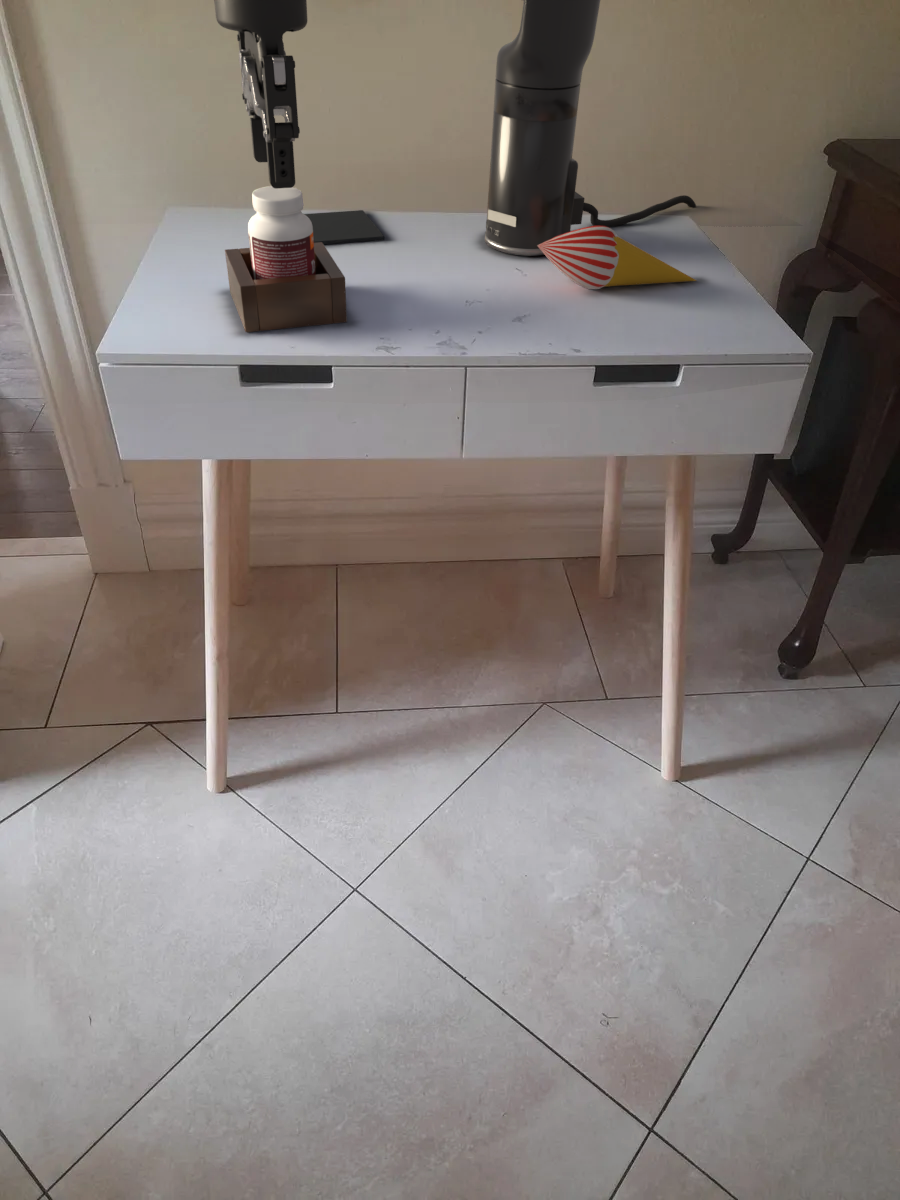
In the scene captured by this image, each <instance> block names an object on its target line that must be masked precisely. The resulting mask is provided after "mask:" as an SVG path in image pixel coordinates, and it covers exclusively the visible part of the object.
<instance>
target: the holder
mask: <svg viewBox="0 0 900 1200" xmlns="http://www.w3.org/2000/svg"><path fill="white" fill-rule="evenodd" d="M224 255H225V263H226V270H227V279H228V285H229V293H230V296H231V299H232V301H233V304H234V306H235V309H236V311H237V314H238V316H239V319H240V322H241V324H242V327H243V330H244V331H245V333H254V332H264V331H273V330H282V329H293V328H303V327H312V326H321V325H333V324H340V323H341V324H342V323H347V322H348V316H347V315H348V314H347V313H348V311H347V291H346V288H347V287H346V277H345V275H344V274H343V272H342V270H341V269H340V267H339V266H338V265H337V263H336V261H335V259H334V258H333V256H332V255H331V253H330V251H328V249H327V247H326V246H325V244H323V243H322V242H317V243H314V256H315V272H316V275H305V276H294V277H282V278H271V279H259V280H253V272H252V262H251V253H250V247H243V248H242V247H241V248H229V249H224Z"/></svg>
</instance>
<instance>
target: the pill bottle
mask: <svg viewBox="0 0 900 1200" xmlns="http://www.w3.org/2000/svg"><path fill="white" fill-rule="evenodd" d="M251 196H252V197H251V199H252V207H253V210H254V211H255V212H256V213H254V214H253V215H252V216H251V217H250V219H249V221H248V223H247V234H248V235H247V236H248V243H249V248H250V253H251V262H252V272H253V280H259V279H271V278H282V277H294V276H305V275H316V272H315V256H314V240H313V226H312V222H311V221H310V219H309V218H308V217H307V216H306V215H305V214H306V213H303V212H302V211H303V209H304V206H305V204H304V196H303V192H302V190H301V189H299V188H297V187H294V186H293V187H292V188H277V189H276V188H273V187H272V186H271V185H268V186H262V187H259V188H256V189H254V190H253V191H252V193H251Z"/></svg>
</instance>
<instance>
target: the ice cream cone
mask: <svg viewBox="0 0 900 1200" xmlns="http://www.w3.org/2000/svg"><path fill="white" fill-rule="evenodd" d="M537 246H538V247H539V248H540V249H541V251H542V252H543V253H544V254H545V257H546V258H547V259H548V261H549V262H551V264H552V265H554V266H555V267H556V269H557V270H559V271H560V272H561V273H562V274H563V275H564V276H565V277H566V278H568V279H569V280H571V282H573V283H574V284H576V285H578V286H579V287H582V288H584V289H588V290H600V289H602V288H605V287H619V286H620V287H621V286H636V285H650V284H651V285H652V284H653V285H654V284H666V283H667V284H668V283H682V282H684V283H685V282H697V279H695V278H693V277H692V276H689V275H688V274H686V273H684V272H682V271H680V270H679V269H677V268H676V267H673V266H671V265H670V264H668V263H666V262H664V261H663V260H661V259H659V258H657V257H655V256H654V255H652V254H650V253H649V252H647V251H645V250H643V249H641V248H640V247H638V246H636V245H634V244H633V243H631V242H629V241H628V240H625V239H623V238H622V237H620V236H618V235H617V233H616V232H615V231H614V229H613V228H612V227H606V226H600V225H597V226H593V225H590V226H585V227H580V228H578V229H574V230H570V232H567V233H564V234H562V235H559V236H556V237H554V238H552V239H550V240H548V241H545V242H543V243H541V244H539V245H537Z"/></svg>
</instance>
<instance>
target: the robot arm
mask: <svg viewBox="0 0 900 1200" xmlns="http://www.w3.org/2000/svg"><path fill="white" fill-rule="evenodd" d="M213 1H214V4H213V5H214V12H215V20H216V22H217V23H218V25H219V26H221V27H222V28H224V29H226V30H229V31H234V32H237V34H236V39H237V42H238V62H239V68H240V74H241V89H242V94H241V98H242V100H243V102H244V105H245V111H246V112H247V115H248V117H249V121H250V132H251V142H252V143H251V144H252V154H253V158H254V160H255V161H256V162H257V163H267V170H268V181H269V184H270V186H272V187H273V188H276V189H277V188H292V187H293V188H294V187H295V185H296V169H295V153H294V142H295V141H296V139H300V138H299V137H300V133H301V131H300V126H299V115H298V102H297V101H298V100H297V99H298V98H297V87H296V73H295V72H296V69H295V68H296V61H295V59H294V56H293V55H287V52H286V50H285V45H284V44H285V43H284V41H283V37H284V34H286V33H287V32H291V33H295V32H299V31H302V30H303V29H305V28H306V27H307V24H308V4H307V3H308V2H307V0H213ZM522 1H523V4H522V12H521V20H520V26H519V30H518V33H517V35H516V36H515V38H514V39H513V40H512V41H511V42H508V43H507V44H504V45H503V46H501V47H500V48H499V50H498V52H497V56H496V64H495V65H496V66H495V80H494V81H495V82H494V98H493V115H492V128H491V129H492V130H491V147H490V162H489V177H488V192H487V193H488V194H487V206H486V207H487V208H486V209H487V210H486V221H485V232H484V242H485V244H486V245H487V246H488V247H490V248H492V249H494V250H495V251H498V252H501V253H505V254H509V255H513V256H523V257H524V256H526V257H528V256H529V257H532V256H533V257H536V256H544V255H545V254H544V253H543V252H542V251H541V249H540V248H539V247H538V246H537V245H539V244H541V243H543V242H545V241H548V240H550V239H552V238H554V237H556V236H559V235H562V234H564V233H567V232H570V231H571V229H572V228H571V227H572V225H573V226H574V225H581V224H582V222H583V212H586V213H588V214H590V217H589V218H590V219H589V220H590V224H591V226H597V225H600V226H606V227H609V228H613V227H618V226H622V225H626V224H629V223H633V222H635V221H641V220H643V219H645V218H647V217H650V216H652V215H654V214H656V213H658V212H662V211H666V210H667V209H670V208H671V207H674V206H676V205H679V204H685V205H687V207H688V208H691V209H693V208H697V205H696V204H697V203H696V202H695V200H694V199H692V198H691V196H689V195H677V196H675V197H672V198H670V199H667V200H665V201H662V202H660V203H656V204H654V205H651V206H649V207H647V208H645V209H643V210H640V211H638V212H634V213H629V214H626V215H623V216H619V217H616V218H611V219H599V210H598V209H597V208H596V207H595V205H593V204H591V203H588V202H585V197H584V196H582V195H581V194H580V193H578V192H577V191H576V187H577V181H578V180H577V179H578V170H579V163H578V161H577V160H576V159H574V158H573V152H574V146H575V145H574V144H575V136H576V126H577V119H578V109H579V101H580V94H581V93H580V92H581V83H582V76H583V69H584V67H585V64H586V62H587V60H588V58H589V56H590V53H591V51H592V48H593V46H594V40H595V37H596V35H595V34H596V28H597V25H598V17H599V12H600V6H601V0H522ZM275 116H282V117H283V118H284V122H283V121H282V122H276V118H275ZM545 256H546V255H545Z"/></svg>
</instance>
